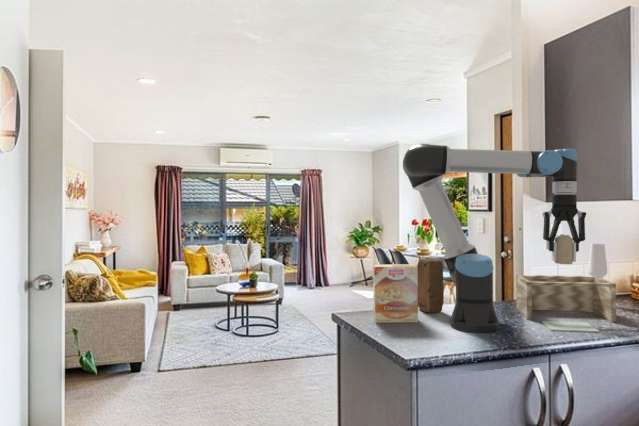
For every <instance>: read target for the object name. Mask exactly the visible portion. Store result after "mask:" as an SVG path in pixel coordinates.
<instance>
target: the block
mask: <svg viewBox="0 0 639 426" xmlns="http://www.w3.org/2000/svg"><path fill="white" fill-rule="evenodd" d="M416 266H417V267H418V310H420V311H422V312H424V313H427V314H428V313H429V314H438V313H440V312H442V311H443V305H444V302H445V301H444V293H445V292H444V291H445V290H444V289H445V288H444V269H443V268H444V266H443V261H442V260H441V259H438V258H435V257H424V258H420V259H419V260H418V262H417V264H416Z"/></svg>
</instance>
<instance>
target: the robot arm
mask: <svg viewBox="0 0 639 426" xmlns="http://www.w3.org/2000/svg"><path fill="white" fill-rule="evenodd" d="M402 169H403V171H404V173H405V175H406V176H407V178H408V180H409V183H410V184H411V187H412V189H413V190H414V191H417V192H419V194H420V197H421V199H422V202H423V203H424V206H425V208H426V211H427V213H428V215H429V217H430V219H431V222H432V224H433V227H434V228H435V230H436V233H437V235H438V238H439V240H440V242H441V244H442V246H443V249H444V251H445V253H444V255H443V260H444V261H445V265H446V267H447V268H448V272H449V273H448V274H449V276H450V278H451V280H452V281H453V282H454V283H455V304H454V308H453V311H452V313H451V317H450V326H451V327H452V328H453V329H456V330H459V331H464V332H471V333H490V332H496V331H497V330H498V331H499V329H500V321H499V317H498V316H497V312H496V310H495V307H494V273H493V272H494V265H493V264H494V263H493V259H492V258H491V257H490V256H488V255H483V254H482V253H481V254H480V253H478V251H477V249H476V246H475V245H473V244H471V243H469V241H468V240H467V237H466V234H465V232H464V229H463V228H462V225H461V223H460V221H459V218H458V216H457V214H456V212H455V209H454V207H453V205H452V202H451V201H450V199H449V196H448V194H447V192H446V189H445V187H444V185H443V183H442V181H443V178H444V175H447V174H449V173H450V172H452V173H480V174H483V173H484V174H509V175H510V174H515V175H516V176H517V177H520V178H552V180H551V182H552V189H551V190H552V192H551V193H553V195H552V197H551V209H550V210H548V211H543V212H542V216H543V233H542V238H543V240H544V241H547V242H548V251H549V252H551V262H555V261H556V254H557V243H556V242H555V238H556V237H557V233H558V231H559V228H560V225H561V222H564V221H565V222H566V223H567V225H568V228H569V232H570V234H571V238H572V239H573V263H576V262H577V253H578V252H579V250H580V242H583V241H586V225H585V224H586V222H585V219H586V216H587V212H586V211H580V210H578V207H577V206H578V205H577V204H578V203H577V197H578V195H576V193H577V191H578V185H577V183H578V179H577V178H578V152H577V150H575V148H559V149H554V150H552V149H545V150H544V151H542V150H540V151H539V150H538V151H537V150H534V151H533V150H507V149H505V150H503V149H502V150H501V149H473V148H472V149H469V148H467V149H466V148H465V149H463V148H450V147H449V146H448V145H439V144H429V143H418V144H417V143H416V144H414V145H412V146H411V147H410V148H409V149H407V151H406V152H405V154H404V157H403V159H402ZM552 216H553V217H554V220H553V225H552V228H551V231H550V224H551V223H550V222H551V217H552ZM575 216H577V219H578V220H577V224H578V227H576V224H575V223H576V222H575V219H574V218H575ZM577 230H578V231H577Z"/></svg>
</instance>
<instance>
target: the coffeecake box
mask: <svg viewBox="0 0 639 426" xmlns="http://www.w3.org/2000/svg"><path fill="white" fill-rule="evenodd" d="M372 269H373V271H372V272H373V274H372V277H373V283H372V285H373V289H372V290H373V291H372V292H373V293H372V294H373V309H372V310H373V320H374V323H376V324H380V323H381V324H385V323H387V324H388V323H391V324H392V323H396V324H397V323H419V307H418V267H417V264H414V263H413V264H411V263H409V264H405V263H401V264H400V263H399V264H389V263H388V264H385V263H384V264H381V263H380V264H372Z"/></svg>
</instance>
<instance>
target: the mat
mask: <svg viewBox="0 0 639 426" xmlns="http://www.w3.org/2000/svg"><path fill="white" fill-rule="evenodd" d="M541 322H542V324H543V325H544V326H545V327H546V328H547V329H548V330H549V331H552V332H572V333H573V332H576V333H577V332H578V333H579V332H580V333H598V334H599V333H600V330H599V329H597V328H596V327H595V326H593V325H591V324H590V323H589V322H587V321H586V322H584V321H558V320H557V321H555V320H541Z"/></svg>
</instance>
